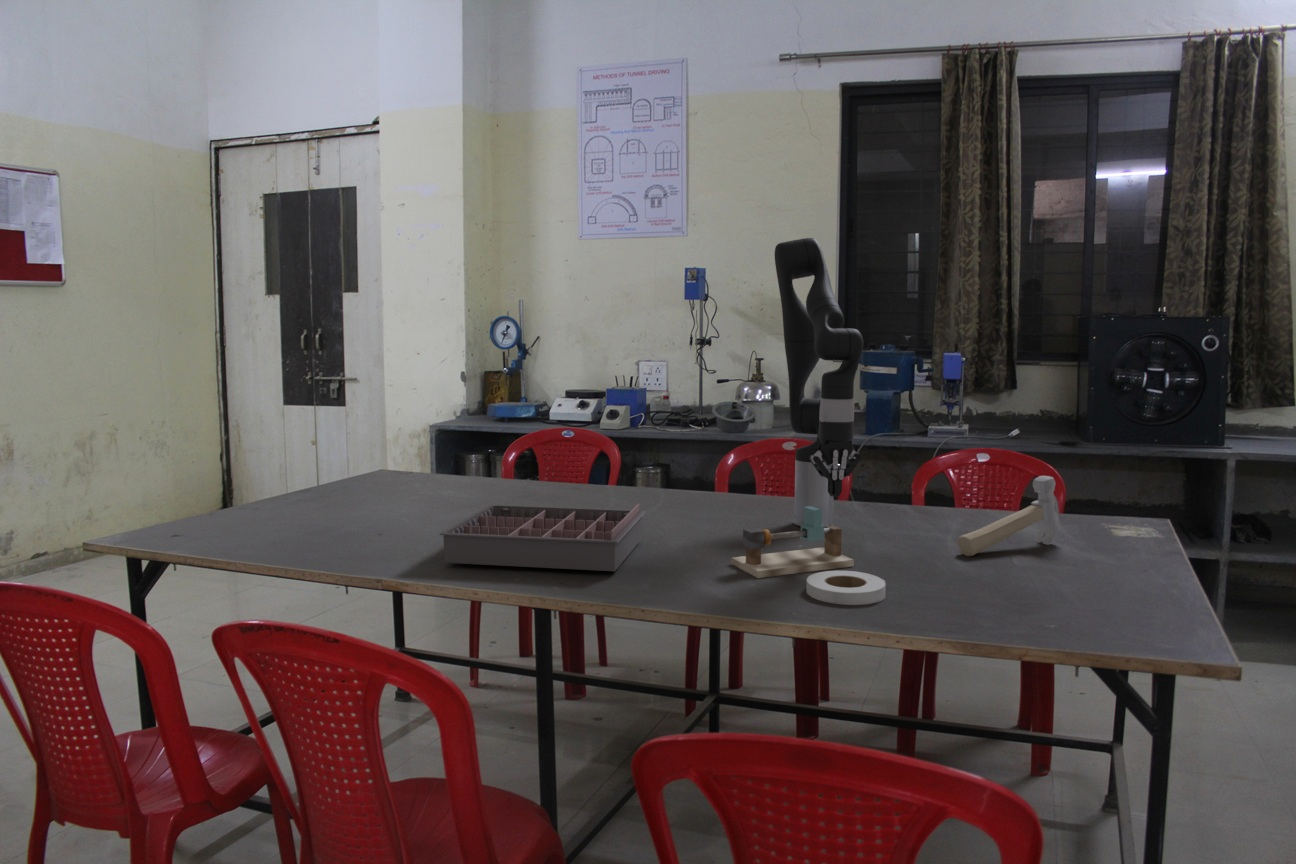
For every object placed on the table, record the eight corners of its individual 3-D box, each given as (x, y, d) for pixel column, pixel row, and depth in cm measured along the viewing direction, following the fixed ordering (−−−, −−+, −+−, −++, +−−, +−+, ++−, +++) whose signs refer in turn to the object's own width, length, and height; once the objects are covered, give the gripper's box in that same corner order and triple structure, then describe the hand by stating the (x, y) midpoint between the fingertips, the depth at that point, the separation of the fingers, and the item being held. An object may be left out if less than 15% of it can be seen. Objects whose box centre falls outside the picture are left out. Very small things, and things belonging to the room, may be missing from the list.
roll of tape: (835, 610, 176) (835, 595, 176) (791, 588, 190) (792, 575, 190) (902, 600, 182) (902, 586, 182) (854, 580, 196) (855, 566, 196)
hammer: (968, 517, 211) (1057, 477, 223) (952, 513, 215) (1041, 474, 228) (977, 581, 214) (1064, 537, 227) (961, 576, 218) (1048, 534, 231)
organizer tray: (490, 535, 236) (489, 496, 235) (646, 542, 228) (646, 502, 227) (439, 569, 205) (438, 525, 203) (617, 579, 197) (617, 532, 196)
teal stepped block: (814, 536, 211) (815, 505, 210) (825, 540, 207) (825, 509, 206) (799, 537, 209) (799, 507, 208) (809, 542, 205) (810, 511, 204)
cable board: (823, 553, 217) (824, 516, 216) (853, 566, 206) (854, 527, 205) (731, 564, 208) (731, 525, 207) (757, 578, 197) (758, 537, 196)
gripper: (852, 416, 213) (849, 491, 215) (801, 418, 208) (800, 495, 210) (871, 419, 206) (869, 496, 208) (820, 421, 201) (818, 500, 203)
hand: (834, 495), depth 209 cm, fingers closed
